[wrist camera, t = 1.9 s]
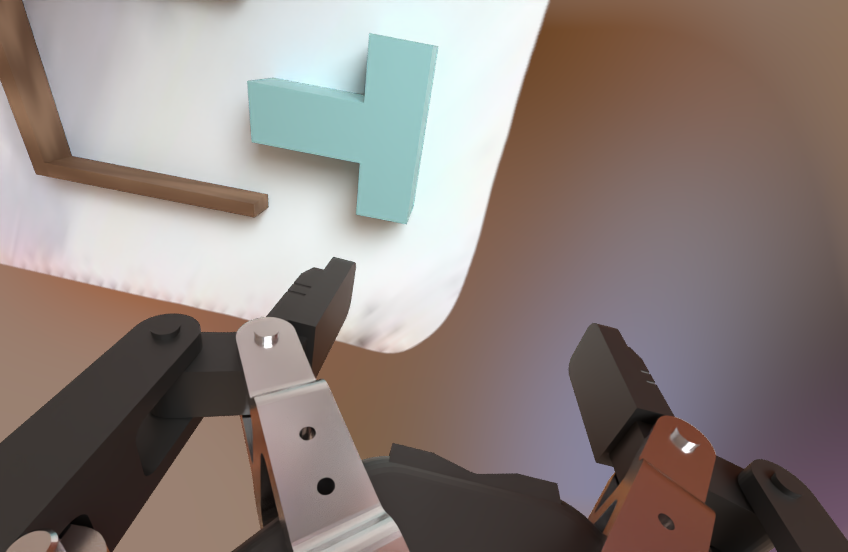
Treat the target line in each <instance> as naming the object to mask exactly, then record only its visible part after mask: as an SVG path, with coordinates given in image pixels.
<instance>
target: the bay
mask: <svg viewBox="0 0 848 552" xmlns="http://www.w3.org/2000/svg"><path fill="white" fill-rule="evenodd" d="M0 80H1V83H2V86H3V88H4V91H5V93H6V96H7V99H8V101H9V104H10V107H11V109H12V112H13V115H14V117H15V120H16V123H17V125H18V128H19V131H20V133H21V136H22V138H23V141H24V144H25V146H26V149H27V152H28V154H29V157H30V160H31V162H32V165H33V168H34V170H35V173H36V174H37V175H42V176H47V177H53V178H58V179H63V180H68V181H73V182H78V183H83V184H88V185H93V186H98V187H103V188H108V189H113V190H118V191H124V192H129V193H134V194H139V195H144V196H149V197H154V198H159V199H164V200H169V201H174V202H179V203H184V204H189V205H195V206H200V207H205V208H210V209H215V210H220V211H225V212H230V213H235V214H240V215H245V216H250V217H256V216H257V215H259V214H260V213H261V212H263V211H264V210H265V209H267V208H268V194H262V193H257V192H252V191H247V190H242V189H237V188H232V187H227V186H222V185H217V184H212V183H206V182H201V181H196V180H191V179H186V178H181V177H176V176H171V175H166V174H161V173H155V172H150V171H145V170H140V169H135V168H130V167H125V166H120V165H115V164H110V163H105V162H99V161H94V160H89V159H84V158H79V157H74V156H72V155H71V152H70V149H69V146H68V143H67V140H66V137H65V134H64V130H63V127H62V124H61V121H60V118H59V115H58V112H57V109H56V105H55V102H54V99H53V96H52V93H51V90H50V87H49V84H48V80H47V77H46V74H45V71H44V68H43V65H42V62H41V59H40V55H39V52H38V49H37V46H36V43H35V40H34V37H33V34H32V30H31V27H30V24H29V21H28V18H27V15H26V12H25V9H24V5H23V2H22V0H0Z"/></svg>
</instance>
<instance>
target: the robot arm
mask: <svg viewBox="0 0 848 552" xmlns="http://www.w3.org/2000/svg"><path fill="white" fill-rule="evenodd" d="M355 270H356V263H355V262H352V261H348V260H344V259H340V258H336V257H333V258H332V259H331V261H330V262H329V263H328V265H327V266H326V267H325V269H324V270H323V269H319V268H315V267H314V268H312V269H310V270H308V271H305V272H303V273H301V275H300V276H299V277H298V278H297V279H296V281H295V282H294V284H292V286H291V287H290V288H289V289H288V292H286V293H285V294H284V295H283V297H282V298H281V299H280V300H279V302H278V303H277V304H276V305H275V306H274V308H273V309H272V310H271V311H270V313H269V314H268V315H267V316H266V317H262V318H257V319H253V320H251V321H248V322H247V323H245V324H243V325H242V326H241V327H240V328H239V330H238V331H237V332H227V333H226V332H223V333H222V332H201V329H200V324H199V323H198V321H197V320H196V319H194V318H193V317H190V316H187V315H183V314H164V315H158V316H155V317H151V318H149V319H146V320H144V321H143V322H141V323H139V324H138V325H136V326H135V327H134V328H133V329H132V330H131V331H130V332H128V333H127V334H126V335H125V336H124V337H123V338H121V339H120V340H119V341H118V342H117V343H116V344H115V345H114V346H112V347H111V348H110V349H109V350H108V351H106V352H105V353H104V354H103V355H102V356H101V357H99V358H98V359H97V360H96V361H95V362H94V363H92V364H91V365H90V366H89V367H88V368H87V369H85V371H83V372H82V373H81V374H80V375H79V376H77V377H76V378H75V379H74V380H73V381H72V382H71V383H69V384H68V385H67V386H66V387H65V388H64V389H62V390H61V391H60V392H59V393H58V394H57V395H55V396H54V397H53V398H52V399H51V400H50V401H48V402H47V403H46V404H45V405H44V406H43V407H42V408H40V409H39V410H38V411H37V412H36V413H35V414H34V415H32V416H31V417H30V418H29V419H28V420H27V421H25V422H24V423H23V424H22V425H21V426H20V427H18V428H17V429H16V430H15V431H14V432H13V433H11V434H10V435H9V436H8V437H7V438H6V439H5V440H3V441H2V442H1V443H0V552H113V550H114V549H115V547H116V546H117V544H118V543H119V541H120V540H121V538H122V537H123V535H124V534H125V532H126V531H127V529H128V528H129V527H130V525H131V524H132V522H133V521H134V519H135V518H136V516H137V515H138V513H139V512H140V510H141V509H142V507H143V506H144V504H145V503H146V501H147V500H148V499H149V497H150V496H151V494H152V493H153V491H154V490H155V488H156V487H157V485H158V484H159V482H160V481H161V479H162V478H163V476H164V475H165V473H166V472H167V470H168V469H169V467H170V466H171V465H172V463H173V462H174V460H175V459H176V457H177V456H178V454H179V453H180V451H181V449H182V448H183V447H184V445H185V444H186V442H187V441H188V439H189V438H190V436H191V435H192V433H193V432H194V431H195V429H196V428H197V426H198V424H199V423H200V422H201V420H202V419H203V417H211V416H212V417H213V416H233V415H240V419H241V423H242V428H243V434H244V439H245V443H246V448H247V453H248V457H249V463H250V467H251V473H252V479H253V487H254V495H255V502H256V508H257V514H258V518H259V524H260V529H261V530H260V531H258V532H257V533H256V534H254V535H253V536H252V537H250V538H249V539H248V540H246V541H245V542H244V543H242V544H241V545H240V546H238V547H237V548H236V549H234V550H233V551H232V552H769V551H770V550H771V549H773V548H774V547H775V548H776V550H777V552H848V540H847V539H846V538H845V536H844V535H843V534H842V532H841V531H840V530H839V528H838V527H837V525H836V524H835V523H834V521H833V520H832V519H831V517H830V516H829V515H828V513H827V512H826V511H825V509H824V508H823V507H822V505H821V504H820V503H819V501H818V500H817V498H816V497H815V496H814V494H813V493H812V492H811V491H810V490H809V489H808V488H807V486H806V485H804V484H803V483H802V482H801V481H800V480H799V479H798V478H797V477H795V476H794V475H793V474H791V473H790V472H789V471H787V470H785V469H784V468H782V467H781V466H779V465H777V464H774V463H773V462H770V461H767V460H763V459H757V460H754V461H753V462H752V463H750V464H749V465H748V466H747V467H746V468H745V469H743V468H741V467H739V466H737V465H735V464H733V463H731V462H729V461H726V460H725V459H723V458H720V457H718V456H716V454H715V450H714V448H713V446H712V445H711V443H710V442H709V440H708V439H707V438H706V437H705V436H704V435H703V434H702V433H701V432H700V431H699V430H697V429H696V428H695V427H694V426H692V425H691V424H689V423H687V422H686V421H684V420H682V419H679V418H677V417H675V416H674V414H673V413H672V411H671V409H670V407H669V406H668V404H667V402H666V400H665V399H664V397H663V395H662V393H661V392H660V390H659V388H658V386H657V385H655V381H654V380H653V378H652V376H651V374H649V371H648V369H647V367H646V366H645V364H644V362H643V360H642V359H641V358H640V357H639V356H638V355H637V354H636V353H635V352H634V351H633V350H632V349H631V348H630V347H628V346H627V344H626V343H625V341H624V339H623V337H622V335H621V334H620V332H619V330H618V329H616V328H612V327H608V326H604V325H600V324H596V323H592V324H591V325H590V326H589V327H588V328H587V330H586V332H585V334H584V336H583V337H582V339H581V341H580V343H579V345H578V346H577V348H576V350H575V351H574V353H573V355H572V357H571V359H570V363H569V376H570V380H571V383H572V386H573V389H574V393H575V396H576V399H577V402H578V406H579V409H580V412H581V416H582V419H583V422H584V425H585V428H586V432H587V435H588V438H589V442H590V445H591V448H592V451H593V454H594V458H595V461H596V463H600V464H604V465H608V466H612V467H614V470H615V473H614V474H613V475H612V476H611V478H610V479H609V480H608V482H607V484H606V486H605V488H604V490H603V491H602V493H601V495H600V497H599V499H598V501H597V503H596V504H595V506H594V508H593V510H592V512H591V514H590V515H589V517H588V519H587V518H586V517H585V516H584V515H583V514H582V513H580V512H579V511H577V510H576V509H575V508H573V507H572V506H570V505H569V504H567V503H566V502H564V501H562V500H561V499H560V495H559V490H558V485H557V483H554V482H549V481H545V480H541V479H537V478H533V477H529V476H525V475H521V474H475V473H472V472H470V471H468V470H466V469H464V468H462V467H460V466H458V465H456V464H454V463H452V462H450V461H448V460H446V459H444V458H442V457H440V456H438V455H436V454H434V453H432V452H427V451H423V450H419V449H415V448H411V447H407V446H403V445H399V444H395V443H393V444H392V447H391V451H390V454H389V456H379V457H372V458H368V459H364V460H361V459H360V456H359V454H358V452H357V449H356V447H355V445H354V443H353V441H352V438H351V436H350V434H349V431H348V429H347V427H346V424H345V422H344V420H343V418H342V415H341V413H340V411H339V409H338V406H337V404H336V402H335V400H334V398H333V395H332V393H331V391H330V388H329V386H328V384H327V382H326V381H325V380H324V379H319V380H316V377H317V375H318V373H319V371H320V369H321V367H322V365H323V363H324V361H325V359H326V357H327V355H328V353H329V351H330V349H331V347H332V345H333V343H334V341H335V339H336V337H337V335H338V333H339V331H340V329H341V327H342V325H343V323H344V321H345V319H346V317H347V314H348V311H349V308H350V303H351V297H352V291H353V284H354V277H355Z"/></svg>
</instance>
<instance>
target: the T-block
mask: <svg viewBox="0 0 848 552" xmlns="http://www.w3.org/2000/svg"><path fill="white" fill-rule="evenodd" d="M437 52H438V46H434V45H429V44H424V43H418V42H413V41H408V40H403V39H397V38H392V37H387V36H382V35H376V34H371V33H369V44H368V57H367V71H366V85H365V95H361V94H356V93H350V92H345V91H340V90H335V89H330V88H324V87H319V86H314V85H309V84H304V83H298V82H293V81H288V80H283V79H278V78H268V79H260V80H252V81H247V84H248V98H249V112H250V125H251V139H252V142H253V143H258V144H264V145H269V146H274V147H279V148H284V149H289V150H295V151H300V152H305V153H310V154H315V155H320V156H325V157H331V158H336V159H341V160H346V161H351V162H356V163H360V168H359V181H358V195H357V209H356V215H361V216H366V217H372V218H377V219H382V220H387V221H392V222H397V223H402V224H407V222H408V219H409V217H410V214H411V212H412V209H413V206H414V200H415V193H416V187H417V180H418V174H419V168H420V161H421V155H422V148H423V142H424V135H425V129H426V123H427V116H428V110H429V103H430V97H431V90H432V84H433V78H434V71H435V65H436V58H437Z"/></svg>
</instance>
